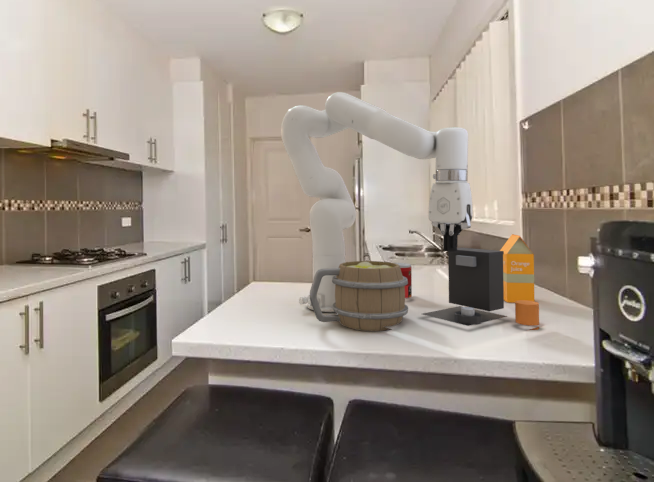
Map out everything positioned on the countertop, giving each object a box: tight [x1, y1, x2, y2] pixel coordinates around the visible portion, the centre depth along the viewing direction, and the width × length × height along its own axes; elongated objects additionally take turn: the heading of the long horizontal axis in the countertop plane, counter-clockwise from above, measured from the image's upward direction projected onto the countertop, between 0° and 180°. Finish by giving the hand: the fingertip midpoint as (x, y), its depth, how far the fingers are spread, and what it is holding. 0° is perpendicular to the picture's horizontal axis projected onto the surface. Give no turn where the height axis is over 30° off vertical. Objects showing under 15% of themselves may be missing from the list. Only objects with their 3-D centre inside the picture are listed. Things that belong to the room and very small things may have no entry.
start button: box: [461, 306, 476, 316], centre depth 110 cm, size 3×3×2 cm
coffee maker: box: [447, 247, 505, 312], centre depth 119 cm, size 8×12×15 cm, turn 32°
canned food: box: [394, 262, 413, 299], centre depth 142 cm, size 8×8×11 cm
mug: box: [308, 260, 409, 332], centre depth 113 cm, size 19×25×15 cm
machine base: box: [422, 305, 508, 327], centre depth 116 cm, size 16×14×3 cm
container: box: [514, 300, 540, 331], centre depth 108 cm, size 5×5×6 cm
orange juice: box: [499, 233, 536, 304], centre depth 139 cm, size 8×9×20 cm
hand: (450, 250), depth 113 cm, fingers closed
